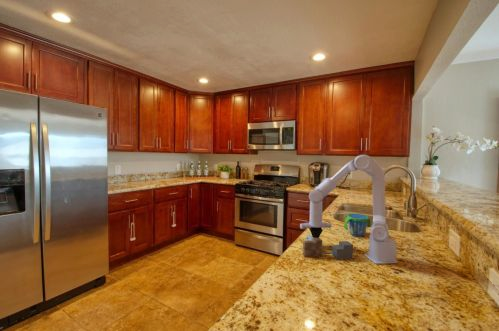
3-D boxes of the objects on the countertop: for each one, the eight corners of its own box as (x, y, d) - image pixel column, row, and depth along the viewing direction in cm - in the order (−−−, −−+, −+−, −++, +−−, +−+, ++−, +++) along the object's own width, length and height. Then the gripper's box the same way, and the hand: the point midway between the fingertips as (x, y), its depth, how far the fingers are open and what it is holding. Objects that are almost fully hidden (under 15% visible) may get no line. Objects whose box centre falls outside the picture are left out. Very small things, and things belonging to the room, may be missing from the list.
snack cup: (349, 238, 115) (350, 219, 114) (338, 231, 125) (339, 213, 125) (376, 237, 117) (377, 218, 117) (363, 230, 128) (364, 212, 127)
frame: (347, 251, 100) (347, 236, 99) (351, 255, 96) (352, 239, 96) (301, 253, 97) (302, 237, 97) (304, 257, 94) (305, 240, 94)
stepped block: (347, 254, 97) (347, 241, 97) (352, 258, 93) (353, 244, 93) (331, 255, 96) (332, 241, 96) (336, 259, 92) (337, 245, 92)
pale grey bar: (320, 251, 99) (320, 243, 98) (316, 252, 98) (316, 243, 98) (308, 241, 110) (308, 233, 110) (304, 241, 110) (304, 233, 110)
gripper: (326, 212, 110) (326, 239, 111) (298, 212, 109) (297, 240, 109) (333, 216, 103) (332, 244, 104) (303, 216, 102) (302, 246, 102)
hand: (315, 242), depth 106 cm, fingers closed
